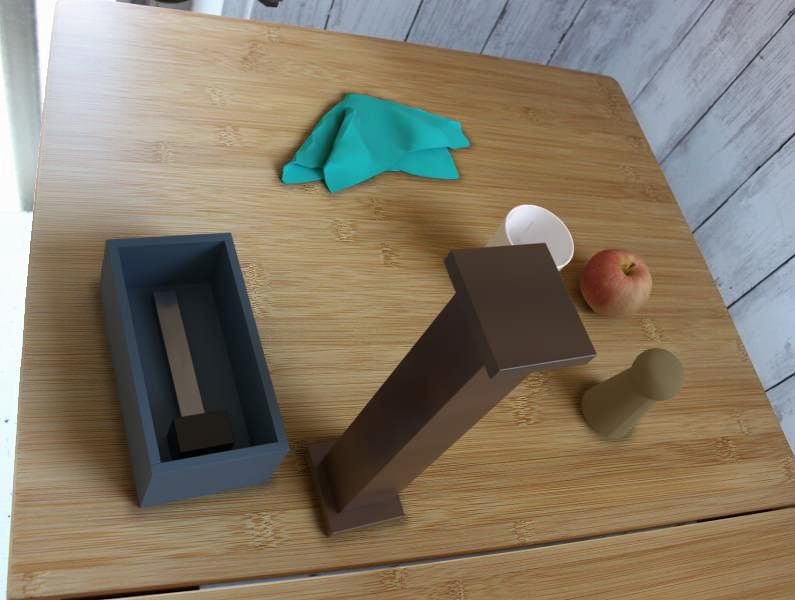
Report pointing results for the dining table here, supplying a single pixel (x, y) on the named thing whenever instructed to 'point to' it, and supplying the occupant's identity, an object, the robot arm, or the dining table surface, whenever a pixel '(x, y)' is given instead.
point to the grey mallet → (187, 389)
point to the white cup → (535, 232)
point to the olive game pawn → (632, 392)
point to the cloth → (375, 144)
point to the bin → (212, 359)
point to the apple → (616, 283)
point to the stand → (450, 380)
